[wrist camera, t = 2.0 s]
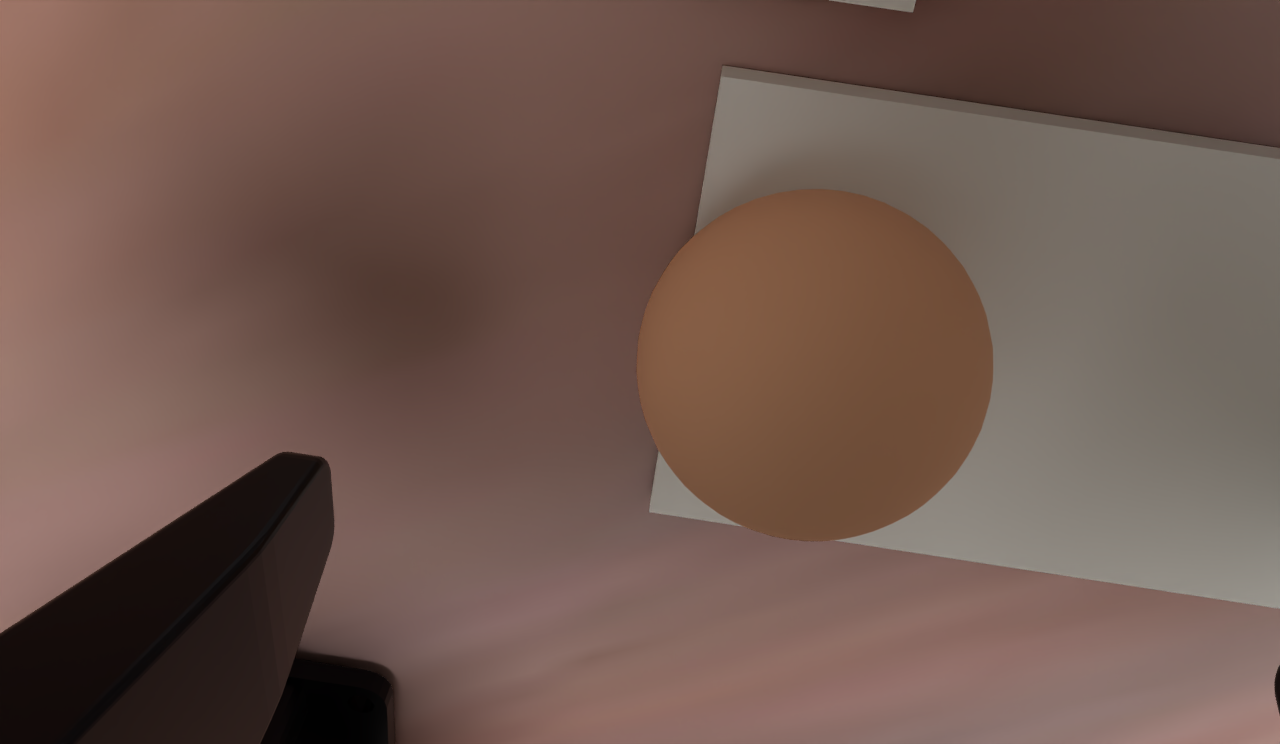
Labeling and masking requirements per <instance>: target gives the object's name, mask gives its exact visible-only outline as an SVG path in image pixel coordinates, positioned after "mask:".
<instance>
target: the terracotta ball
mask: <svg viewBox="0 0 1280 744" xmlns="http://www.w3.org/2000/svg"><path fill="white" fill-rule="evenodd" d="M636 373H637V383H638V391H639V397H640V403H641V406H642V410H643V414H644V418H645V421H646V423H647V426H648V428H649V430H650V433H651V435H652V437H653V440H654V442H655V444H656V447H657V449H658V450H659V452H660V453H661V455H662V457H663V458H664V460H665V462H666V463H667V464H668V466H669V467H670V468H671V470H672V471H673V472H674V474H675V475H676V476H677V477H678V479H679V480H680V481H681V482H682V483H683V485H684V486H685V487H686V488H687V489H689V490H690V491H691V492H692V493H693V494H694V495H695V496H696V497H697V498H698V499H700V500H701V501H702V502H703V503H705V504H706V505H707V506H709V507H710V508H712V509H713V510H714V511H716V512H717V513H718V514H720V515H722V516H724V517H725V518H727V519H729V520H731V521H733V522H734V523H737V524H739V525H741V526H744V527H746V528H749V529H751V530H754V531H757V532H761V533H764V534H767V535H770V536H774V537H779V538H784V539H790V540H799V541H830V540H840V539H846V538H851V537H856V536H860V535H863V534H867V533H870V532H873V531H875V530H878V529H880V528H883V527H886V526H888V525H890V524H893V523H895V522H896V521H898V520H900V519H902V518H904V517H906V516H908V515H910V514H911V513H913V512H914V511H915V510H917V509H918V508H920V507H921V506H923V505H924V504H925V503H926V502H928V501H929V500H930V499H931V498H932V497H933V496H935V495H936V494H937V493H938V492H939V491H940V490H941V489H942V488H943V487H944V486H945V485H946V484H947V483H948V482H949V480H950V479H951V478H952V477H953V476H954V475H955V474H956V473H957V471H958V470H959V468H960V467H961V465H962V464H963V462H964V461H965V459H966V458H967V456H968V455H969V453H970V451H971V449H972V448H973V446H974V444H975V442H976V440H977V438H978V435H979V433H980V431H981V429H982V426H983V422H984V419H985V416H986V413H987V409H988V406H989V402H990V398H991V391H992V383H993V345H992V340H991V335H990V330H989V325H988V320H987V315H986V312H985V310H984V307H983V304H982V302H981V299H980V296H979V294H978V292H977V290H976V288H975V286H974V284H973V282H972V281H971V279H970V277H969V275H968V274H967V272H966V270H965V268H964V267H963V265H962V264H961V263H960V262H959V260H958V259H957V258H956V257H955V256H954V254H953V253H952V252H951V251H950V249H949V248H948V247H947V246H946V245H945V244H944V243H943V242H942V241H941V240H940V239H939V238H938V237H937V236H936V235H935V234H934V233H932V232H931V231H930V230H929V229H928V228H927V227H925V226H924V225H923V224H921V223H920V222H918V221H917V220H915V219H914V218H912V217H911V216H909V215H907V214H906V213H904V212H902V211H900V210H898V209H896V208H894V207H892V206H890V205H888V204H886V203H884V202H881V201H878V200H876V199H873V198H870V197H867V196H864V195H860V194H855V193H850V192H845V191H838V190H827V189H804V190H793V191H787V192H780V193H775V194H771V195H768V196H764V197H761V198H757V199H754V200H752V201H749V202H747V203H744V204H742V205H740V206H737V207H735V208H733V209H732V210H730V211H728V212H726V213H724V214H723V215H721V216H719V217H718V218H716V219H715V220H714V221H712V222H711V223H709V224H708V225H707V226H705V227H704V228H703V229H701V230H700V231H699V232H698V233H697V234H695V235H694V236H693V237H692V238H691V239H690V240H689V241H688V242H687V243H686V244H685V245H684V246H683V247H682V248H681V249H680V250H679V252H678V253H677V254H676V255H675V257H674V258H673V259H672V261H671V262H670V263H669V264H668V266H667V268H666V269H665V271H664V272H663V274H662V276H661V278H660V279H659V281H658V283H657V285H656V286H655V288H654V290H653V292H652V294H651V297H650V300H649V302H648V305H647V307H646V310H645V313H644V317H643V320H642V324H641V329H640V333H639V338H638V350H637V367H636Z"/></svg>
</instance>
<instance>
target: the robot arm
mask: <svg viewBox="0 0 1280 744" xmlns="http://www.w3.org/2000/svg"><path fill="white" fill-rule="evenodd" d="M333 535H334V510H333V497H332V484H331V472H330V467H329V464H328V462H327V461H326V460H325V459H324V458H322V457H320V456H313V455H307V454H300V453H293V452H282V453H279V454H277V455H275V456H273V457H272V458H270V459H268V460H267V461H265V462H264V463H262V464H261V465H259V466H258V467H256V468H255V469H253V470H251V471H250V472H248V473H247V474H245V475H244V476H242V477H241V478H239V479H238V480H236V481H234V482H233V483H231V484H230V485H228V486H227V487H225V488H224V489H222V490H221V491H219V492H218V493H216V494H214V495H213V496H211V497H210V498H208V499H207V500H205V501H204V502H202V503H201V504H199V505H197V506H196V507H194V508H193V509H191V510H190V511H188V512H187V513H185V514H184V515H182V516H180V517H179V518H177V519H176V520H174V521H173V522H171V523H170V524H168V525H167V526H165V527H164V528H162V529H160V530H159V531H157V532H156V533H154V534H153V535H151V536H150V537H148V538H147V539H145V540H143V541H142V542H140V543H139V544H137V545H136V546H134V547H133V548H131V549H130V550H128V551H127V552H125V553H123V554H122V555H120V556H119V557H117V558H116V559H114V560H113V561H111V562H110V563H108V564H106V565H105V566H103V567H102V568H100V569H99V570H97V571H96V572H94V573H93V574H91V575H89V576H88V577H86V578H85V579H83V580H82V581H80V582H79V583H77V584H76V585H74V586H73V587H71V588H69V589H68V590H66V591H65V592H63V593H62V594H60V595H59V596H57V597H56V598H54V599H52V600H51V601H49V602H48V603H46V604H45V605H43V606H42V607H40V608H39V609H37V610H35V611H34V612H32V613H31V614H29V615H28V616H26V617H25V618H23V619H22V620H20V621H19V622H17V623H15V624H14V625H12V626H11V627H9V628H8V629H6V630H5V631H3V632H2V633H0V744H395V727H394V699H393V689H392V686H391V684H390V683H389V681H388V680H387V679H386V678H385V677H383V676H381V675H379V674H378V673H375V672H372V671H368V670H363V669H357V668H350V667H344V666H337V665H331V664H324V663H318V662H312V661H305V660H299V659H294V658H295V655H296V652H297V649H298V646H299V643H300V640H301V637H302V634H303V631H304V628H305V625H306V622H307V619H308V616H309V613H310V610H311V607H312V604H313V601H314V598H315V595H316V591H317V588H318V585H319V582H320V579H321V576H322V573H323V570H324V567H325V564H326V561H327V558H328V555H329V552H330V549H331V545H332V541H333ZM1275 697H1276V701H1277V705H1278V710H1279V714H1280V666H1279V667H1278V670H1277V673H1276V677H1275Z"/></svg>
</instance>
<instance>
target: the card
mask: <svg viewBox="0 0 1280 744" xmlns="http://www.w3.org/2000/svg"><path fill="white" fill-rule="evenodd" d="M831 1H837V2H844V3H851V4H858V5H864V6H871V7H878V8H885V9H892V10H898V11H905V12H912V13H913V10H914V7H915V3H916V0H831Z"/></svg>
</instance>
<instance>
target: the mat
mask: <svg viewBox="0 0 1280 744" xmlns="http://www.w3.org/2000/svg"><path fill="white" fill-rule="evenodd" d="M804 189H827V190H838V191H845V192H850V193H855V194H860V195H864V196H867V197H870V198H873V199H876V200H878V201H881V202H884V203H886V204H888V205H890V206H892V207H894V208H896V209H898V210H900V211H902V212H904V213H906V214H907V215H909V216H911V217H912V218H914V219H915V220H917V221H918V222H920V223H921V224H923V225H924V226H925V227H927V228H928V229H929V230H930V231H931V232H932V233H934V234H935V235H936V236H937V237H938V238H939V239H940V240H941V241H942V242H943V243H944V244H945V245H946V246H947V247H948V248H949V249H950V251H951V252H952V253H953V254H954V256H955V257H956V258H957V259H958V260H959V262H960V263H961V264H962V265H963V267H964V268H965V270H966V272H967V274H968V275H969V277H970V279H971V281H972V282H973V284H974V286H975V288H976V290H977V292H978V294H979V296H980V299H981V302H982V304H983V307H984V310H985V312H986V315H987V320H988V325H989V330H990V335H991V340H992V345H993V383H992V391H991V398H990V402H989V406H988V409H987V413H986V416H985V419H984V422H983V426H982V429H981V431H980V433H979V435H978V438H977V440H976V442H975V444H974V446H973V448H972V449H971V451H970V453H969V455H968V456H967V458H966V459H965V461H964V462H963V464H962V465H961V467H960V468H959V470H958V471H957V473H956V474H955V475H954V476H953V477H952V478H951V479H950V480H949V482H948V483H947V484H946V485H945V486H944V487H943V488H942V489H941V490H940V491H939V492H938V493H937V494H936V495H935V496H933V497H932V498H931V499H930V500H929V501H928V502H926V503H925V504H924V505H923V506H921V507H920V508H918V509H917V510H915V511H914V512H913V513H911V514H910V515H908V516H906V517H904V518H902V519H900V520H898V521H896V522H895V523H893V524H890V525H888V526H886V527H883V528H880V529H878V530H875V531H873V532H870V533H867V534H863V535H860V536H856V537H851V538H846V539H840V540H834V541H840V542H847V543H853V544H860V545H867V546H873V547H880V548H886V549H893V550H899V551H906V552H912V553H919V554H925V555H932V556H938V557H945V558H951V559H958V560H965V561H971V562H978V563H984V564H991V565H997V566H1004V567H1010V568H1017V569H1023V570H1030V571H1036V572H1043V573H1049V574H1056V575H1062V576H1069V577H1076V578H1082V579H1089V580H1095V581H1102V582H1108V583H1115V584H1121V585H1128V586H1134V587H1141V588H1147V589H1154V590H1160V591H1167V592H1174V593H1180V594H1187V595H1193V596H1200V597H1206V598H1213V599H1219V600H1226V601H1232V602H1239V603H1245V604H1252V605H1258V606H1265V607H1272V608H1278V609H1280V148H1276V147H1269V146H1263V145H1256V144H1249V143H1243V142H1236V141H1229V140H1222V139H1216V138H1209V137H1202V136H1195V135H1189V134H1182V133H1175V132H1168V131H1162V130H1155V129H1148V128H1142V127H1135V126H1128V125H1121V124H1115V123H1108V122H1101V121H1094V120H1088V119H1081V118H1074V117H1067V116H1061V115H1054V114H1047V113H1041V112H1034V111H1027V110H1020V109H1014V108H1007V107H1000V106H993V105H987V104H980V103H973V102H966V101H960V100H953V99H946V98H939V97H933V96H926V95H919V94H913V93H906V92H899V91H892V90H886V89H879V88H872V87H865V86H859V85H852V84H845V83H838V82H832V81H825V80H818V79H812V78H805V77H798V76H791V75H785V74H778V73H771V72H764V71H758V70H751V69H744V68H737V67H731V66H724V65H722V71H721V77H720V83H719V89H718V95H717V101H716V107H715V113H714V119H713V125H712V131H711V137H710V143H709V149H708V155H707V161H706V168H705V174H704V180H703V186H702V192H701V198H700V204H699V210H698V216H697V222H696V228H695V234H697V233H698V232H699V231H700V230H701V229H703V228H704V227H705V226H707V225H708V224H709V223H711V222H712V221H714V220H715V219H716V218H718V217H719V216H721V215H723V214H724V213H726V212H728V211H730V210H732V209H733V208H735V207H737V206H740V205H742V204H744V203H747V202H749V201H752V200H754V199H757V198H761V197H764V196H768V195H771V194H775V193H780V192H787V191H793V190H804ZM695 234H694V235H695ZM649 512H651V513H658V514H664V515H671V516H677V517H684V518H690V519H697V520H703V521H710V522H716V523H723V524H729V525H736V526H741V525H739V524H737V523H734V522H733V521H731V520H729V519H727V518H725V517H724V516H722V515H720V514H718V513H717V512H716V511H714V510H713V509H712V508H710V507H709V506H707V505H706V504H705V503H703V502H702V501H701V500H700V499H698V498H697V497H696V496H695V495H694V494H693V493H692V492H691V491H690V490H689V489H687V488H686V487H685V486H684V485H683V483H682V482H681V481H680V480H679V479H678V477H677V476H676V475H675V474H674V472H673V471H672V470H671V468H670V467H669V466H668V464H667V463H666V462H665V460H664V458H663V457H662V455H661V453H660V452H659V450H658V456H657V462H656V468H655V474H654V480H653V486H652V492H651V499H650V507H649ZM742 527H744V526H742Z"/></svg>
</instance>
